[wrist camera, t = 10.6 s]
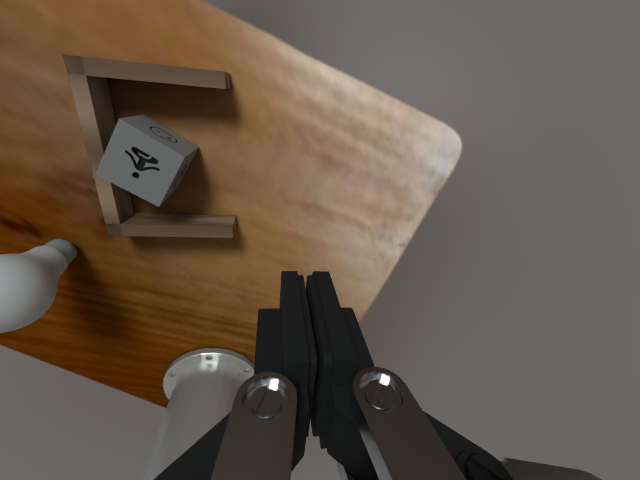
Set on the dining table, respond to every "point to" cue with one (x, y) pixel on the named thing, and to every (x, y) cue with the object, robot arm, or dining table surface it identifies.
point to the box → (99, 127)
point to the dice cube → (146, 158)
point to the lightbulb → (31, 282)
